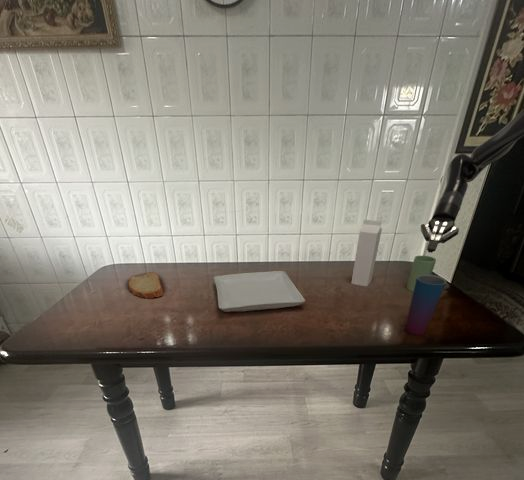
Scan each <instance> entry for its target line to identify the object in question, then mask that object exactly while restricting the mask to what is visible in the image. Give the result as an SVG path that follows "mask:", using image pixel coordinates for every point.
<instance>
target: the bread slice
mask: <svg viewBox="0 0 524 480" xmlns="http://www.w3.org/2000/svg"><path fill="white" fill-rule="evenodd" d="M127 284H128V290H129V292H131V291H132V292H131V293H132V295H134V294H135V295H134V296H136V295H137V296H136V297H138V296H140V297H139V298H141V297H145V298H144V299H155V298H154V297H159V296H162V295H163V296H164V287H163V284H162V281H161V278H160V276H159V274H157V272H155V271H149V272H148V273H147V272H146V273H145V274H143V275H131V276H130V278H129V280H128V283H127ZM163 296H162V297H163ZM159 298H160V297H159Z"/></svg>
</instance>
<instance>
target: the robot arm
mask: <svg viewBox="0 0 524 480" xmlns="http://www.w3.org/2000/svg"><path fill="white" fill-rule="evenodd" d="M523 137H524V108H523V109H522V110H520V112H519V113H518V114H516V116H514V117H513V118H512V119H511V120H510V121H509V122H507V124H505V126H503V128H501V129H500V130H499V131H498V132H496V133H495V134H494V135H492V136H491V137H489V138H488V139H486V140H485V141H483V142H482V143H481V144H479V145H478V146H477V147H475V148H474V150H473V151H472V152H471V153H470V154H471V155H470V156H469V155H468V154H465V153H459V154H457V155H456V156H454V157H453V158H452V159H451V161H450V162H449V164H448V166H447V169H446V175H445V176H446V177H445V188H444V189H443V192H442V194H441V196H440V198H439V200H438V202H437V205H436V207H435V210H434V212H433V214H432V217H431V218H430V220H429V221H428V222H427V223H426V224H424V223H422V224H421V225H420V232H421V234H422V236H423V238H424V240H425V241H426V242H428V244H427V246H426V251H427V253H431V254H432V253H433V252H436V250H437V248H438V245H439V244H445V243H447V242H448V241H450V240H451V239H453V238H455V237H456V236H458V235H459V232H460V228H459V227H456V223H455V222H456V219H457V217H458V215H459V212H460V210H461V208H462V204H463V200H464V198H465V196H466V194H467V191H468V188H469V187H468V186H469V183H470V182H473V181H475V179H476V178H478V176H479V175H480V174H481V172H483V170H485V169H486V168H487V167H488V166H489V165H490V164H492V163H494V162H496V161H497V160H499V159H500V158H502V157H503V156H505V155H506V154H508V152H509V151H510V150H511V149H512V148H513V147H514V145H515V143H516V142H518V140H520V139H521V138H523ZM429 231H430V233H431V235H430V233H429Z"/></svg>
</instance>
